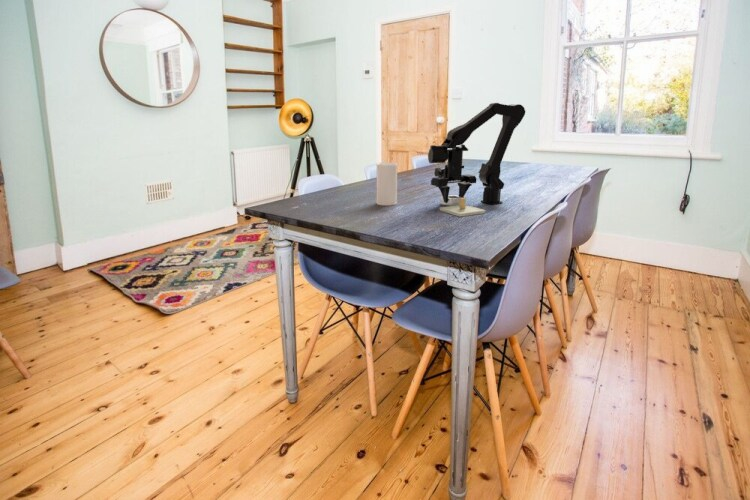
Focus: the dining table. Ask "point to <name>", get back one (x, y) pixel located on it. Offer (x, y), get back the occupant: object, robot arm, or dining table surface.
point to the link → (451, 200)
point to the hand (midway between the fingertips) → (452, 201)
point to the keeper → (462, 209)
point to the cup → (386, 183)
